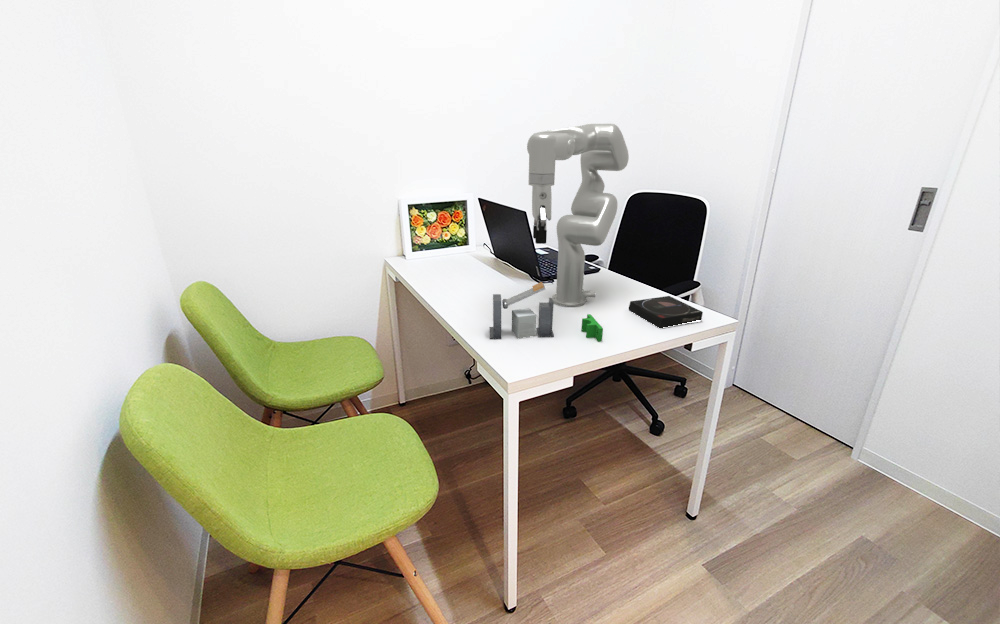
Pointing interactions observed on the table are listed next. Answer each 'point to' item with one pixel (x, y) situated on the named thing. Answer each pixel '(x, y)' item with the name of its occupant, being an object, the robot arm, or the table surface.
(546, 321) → the lug block
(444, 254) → the table surface
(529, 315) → the product box
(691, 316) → the portable cd player
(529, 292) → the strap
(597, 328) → the pipe clamp
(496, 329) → the hinge post
